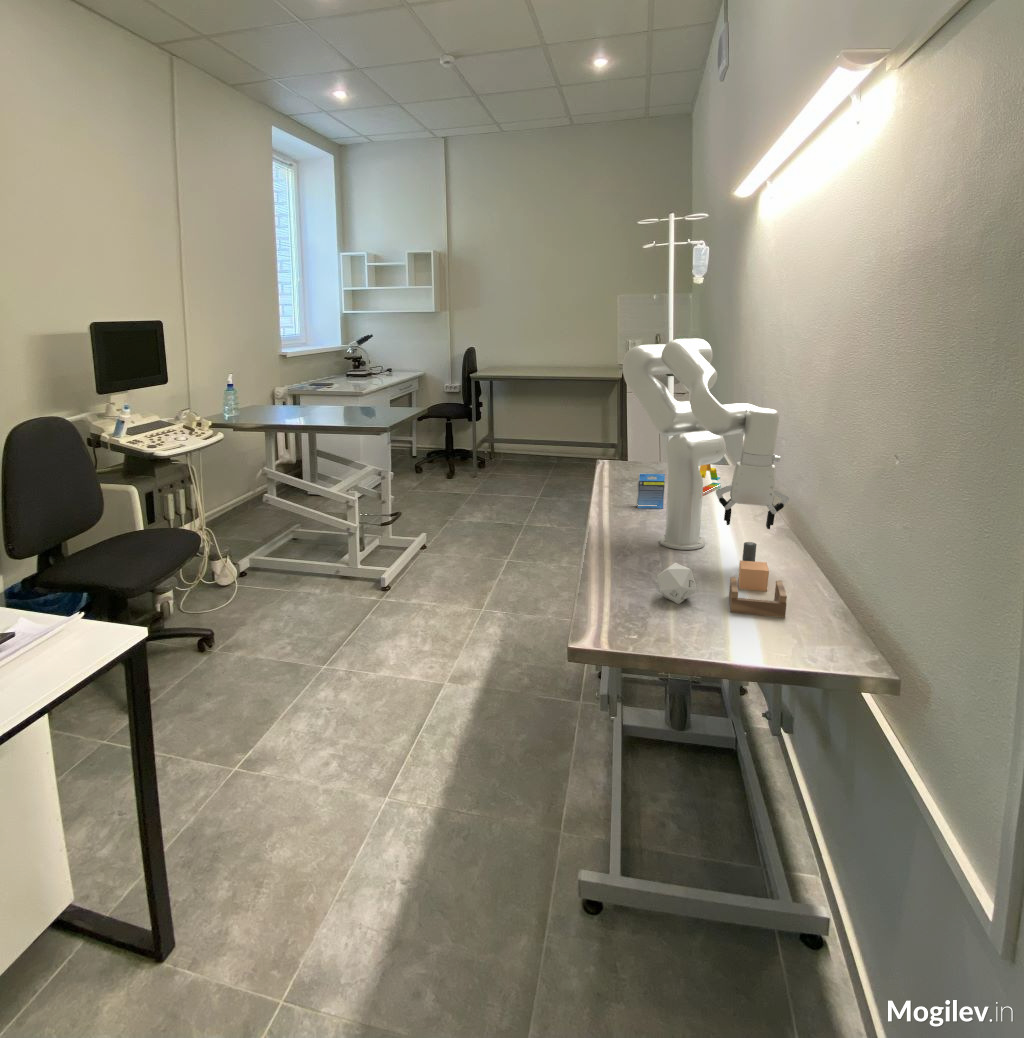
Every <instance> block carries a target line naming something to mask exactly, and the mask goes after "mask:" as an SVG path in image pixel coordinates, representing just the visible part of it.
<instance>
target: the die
mask: <svg viewBox="0 0 1024 1038" xmlns="http://www.w3.org/2000/svg"><path fill="white" fill-rule="evenodd" d="M656 579H657V582H658V583H657V584H658V587H659V592H660V594H661V595H662V597H663V598H665V599H667V600H669V601H672V602H673V603H675V604H677V605H680V604H681V603H682V602H684V601H685V600H686V599H688V598H689V597H691V596H693V595H695V593H697V592H698V588H697V584H696V581H695V578H694V574H693V571H692V569H691V568H689V567H686V566H684V565H682V564H680V563H677V562H673V563H672V564H670V565H669V566H668V567H666V568H664V570H662V571H661V572H659V573H658V574H657V575H656Z"/></svg>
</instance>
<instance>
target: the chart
mask: <svg viewBox="0 0 1024 1038" xmlns="http://www.w3.org/2000/svg"><path fill="white" fill-rule="evenodd" d="M699 467H700V468H699V471H700V474H701V476H702V479H706V476H707V472H709V474H710V475H709V476H710V479H711V480H713V481H719V480H721V476H718V472H717V468H716V467H711V464H707V465H700V466H699ZM719 484H721V485H720V486H718V487H715V486H717V485H719ZM713 487H715V488H713ZM711 488H713V489H711ZM721 488H722V483H720V482H719V483H718V482H712V483H710V484H707V485H705V486H703V492H705V491H707V490H709V489H711V490H709V491H707V492H705V493H703V494H702V497H704V496H706V495H708V494H710V493H712V492H714V491H715V492H716V490H718V489H721Z"/></svg>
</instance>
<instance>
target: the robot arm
mask: <svg viewBox="0 0 1024 1038" xmlns="http://www.w3.org/2000/svg"><path fill="white" fill-rule="evenodd" d="M713 356H714V355H713V349H712V347H711V345H710V344H709V343H708V342H707V341H706V340H705V339H702V338H676V339H672V340H670V341H669V342H667V343H666V344H665V343H659V344H656V343H655V344H654V343H653V344H652V343H651V344H650V343H649V344H640V345H636V346H633V347H632V348H630V349H629V350H628V351H627V352H626V353H625V355H624V357H623V361H622V374H623V378H624V381H625V383H626V386H627V387H628V389H629V390H630V392H632V394H633V395H634V397H635V398H636V399H637V401H638V403H639V404H640V405H641V407H642V410H644V412H645V414H646V416H647V417H648V419H649V421H650V422H651V424H652V425H653V427H654V429H655V430H656V432H657V433H658V434H659V435H661V436H663V437H671V438H670V439H669V440H668V441H667V443H666V445H665V459H666V466H667V489H666V491H667V492H666V493H667V494H666V508H665V509H666V511H665V515H666V516H665V529H664V530H665V531H664V533H665V534H663V535H661V536H659V539H658V540H659V541H658V542H659V544H660V545H661V546H663V547H666V548H669V549H673V550H682V551H684V550H686V551H687V550H688V551H689V550H690V551H691V550H699V549H702V548H703V547H705V545H706V540H705V539H704V537H701V536H700V535H701V525H702V524H701V522H702V506H703V496H702V494H703V487H704V482H703V478H702V476H701V474H700V468H699V467H700V466H701V465H707V464H710V465H711V464H715V463H718V462H720V461H721V460H722V459H723V458H724V456H726V455H725V454H726V452H727V450H726V449H727V445H726V440H725V438H724V436H729V435H730V436H731V435H738V434H739V435H740V434H743V439H742V446H741V452H740V460H739V461H736V464H735V466H734V470H733V475H732V480H731V484H729V485H726V486H724V487H721V488H719V489H717V490H715V495H716V496H717V499H718V502H719V503H720V504H721V506H723V508H724V516H723V521H726V522H725V523H726V525H727V526H729V525H731V517H732V507H733V506H735V504H738V505H748V506H749V505H750V506H758V507H759V506H760V507H767V509H768V511H767V515H766V523H765V527H766V529H767V530H770V529H771V526H774V523H775V515H776V514H777V513H778V512H780V510H782V509H783V508H784V507H785V505H787V503H788V502H789V501H790V496H789V495H787V494H786V493H784V492H782V491H781V490H779V489H777V488H776V472H777V471H776V465H774V464H775V463H778V462H780V460H781V456H780V455H779V456H778V455H776V454H775V451H776V443H777V437H778V430H779V425H780V424H779V423H780V413H779V411H778V410H776V409H774V408H767V407H759V406H757V405H754V404H751V403H746V402H741V403H727V404H725V403H724V404H721V403H720V402H719V401H718V400H717V399H716V398H715V397H714V396H713V395H712V393H711V392H710V390H711V389H712V388H713V387H714V385H715V384H716V383H717V379H718V372H717V370H716V369H715V368H714V367H713V366H712V364H711V363H712V362H713ZM671 374H672V375H673V376H674V377H675V378H676V379H677V381H678V382H679V383H680V384H681V385H682V386H683V387H684V388H685V390H687V391H688V393H689V397H688V399H689V400H677V399H676V398H675V397H673V395H672V394H671V392H670V391H669V389H668V387H667V386H666V385H665V384H664V383H663V381H661V380H659V379H658V378H657V377H655V375H671ZM729 492H730V494H729V495H730V498H729V499H728V500H726V498H724V496H723V495H724V494H725V493H729ZM775 496H776V497H777V498H779V499H780V500H779V502H778V503H776V504H775V505H774V499H775Z"/></svg>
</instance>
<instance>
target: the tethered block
mask: <svg viewBox="0 0 1024 1038" xmlns="http://www.w3.org/2000/svg"><path fill="white" fill-rule="evenodd" d="M742 549H743V551H742V560H739V566H738V579H737V583H738V590H748V591H761V592H768V585H769V584H768V583H769V574H770V570H769V566H768V562H766V561H756V553H757V543H755V542H753V541H746V542H743V548H742Z"/></svg>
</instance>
